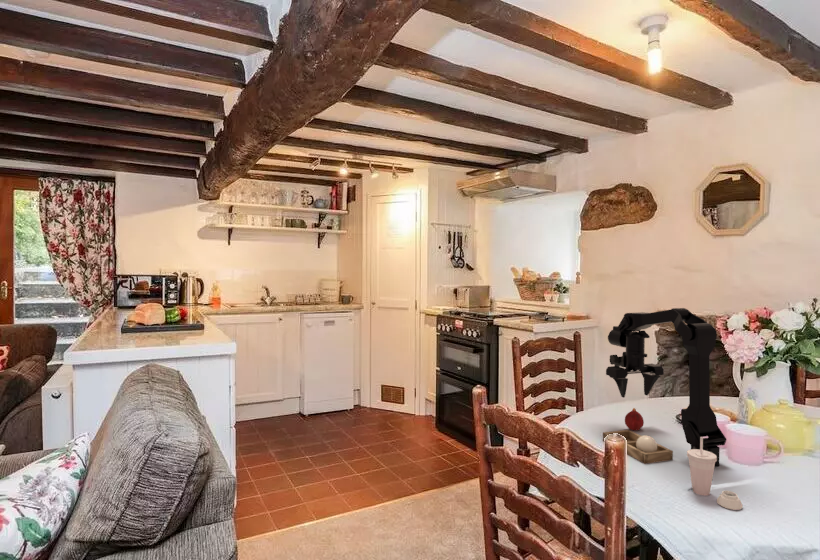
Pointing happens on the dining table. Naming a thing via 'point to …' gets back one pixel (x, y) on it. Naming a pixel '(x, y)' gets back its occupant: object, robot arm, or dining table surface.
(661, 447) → the egg tray
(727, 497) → the beige round hollow piece
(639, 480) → the dining table surface
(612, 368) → the robot arm
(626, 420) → the onion
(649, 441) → the cream egg
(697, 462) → the smoothie
